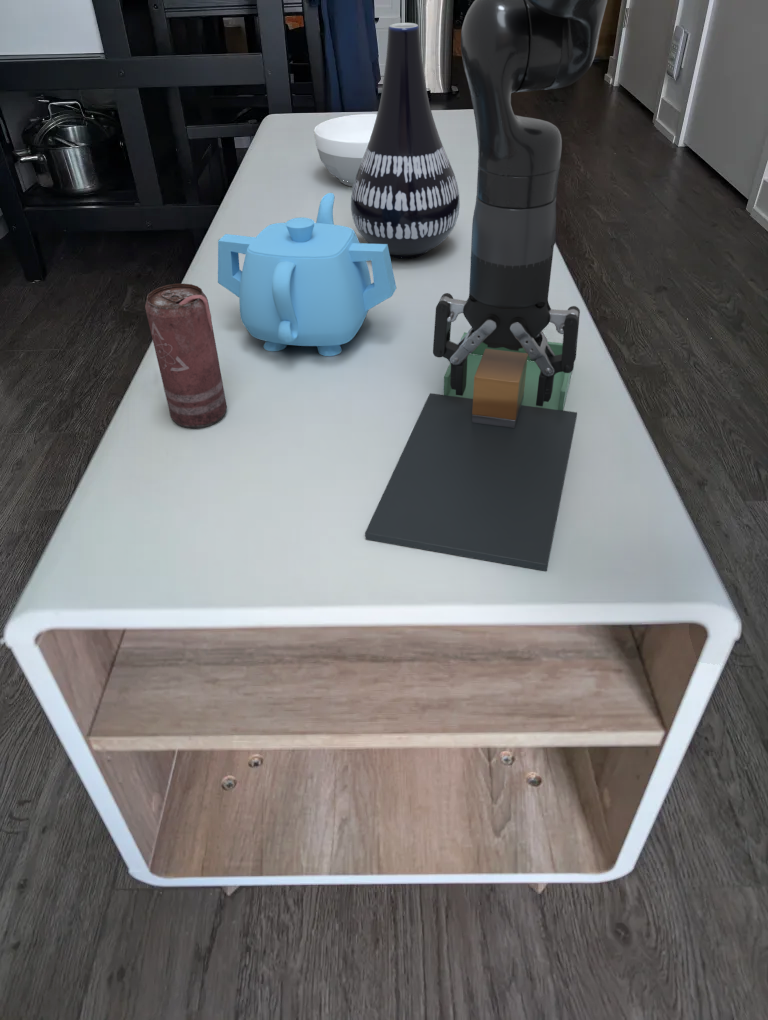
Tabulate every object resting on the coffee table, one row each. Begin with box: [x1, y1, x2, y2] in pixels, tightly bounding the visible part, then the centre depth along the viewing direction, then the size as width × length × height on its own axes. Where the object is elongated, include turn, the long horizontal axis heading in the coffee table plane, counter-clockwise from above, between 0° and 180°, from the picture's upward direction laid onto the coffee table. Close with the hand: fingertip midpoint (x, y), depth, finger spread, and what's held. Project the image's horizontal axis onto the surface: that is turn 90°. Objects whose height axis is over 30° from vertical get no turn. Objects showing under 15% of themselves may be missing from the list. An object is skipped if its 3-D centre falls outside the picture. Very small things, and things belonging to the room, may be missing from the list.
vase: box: [350, 22, 461, 260], centre depth 111 cm, size 16×16×30 cm
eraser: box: [472, 349, 528, 428], centre depth 83 cm, size 6×4×6 cm
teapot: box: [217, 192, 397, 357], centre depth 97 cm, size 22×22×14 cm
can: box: [144, 283, 228, 429], centre depth 82 cm, size 6×6×14 cm
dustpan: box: [443, 331, 573, 411], centre depth 93 cm, size 19×13×3 cm
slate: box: [364, 392, 578, 572], centre depth 77 cm, size 24×16×1 cm, turn 164°
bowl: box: [313, 113, 377, 188], centre depth 144 cm, size 19×19×9 cm
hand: (500, 396), depth 84 cm, fingers open, 8 cm apart
